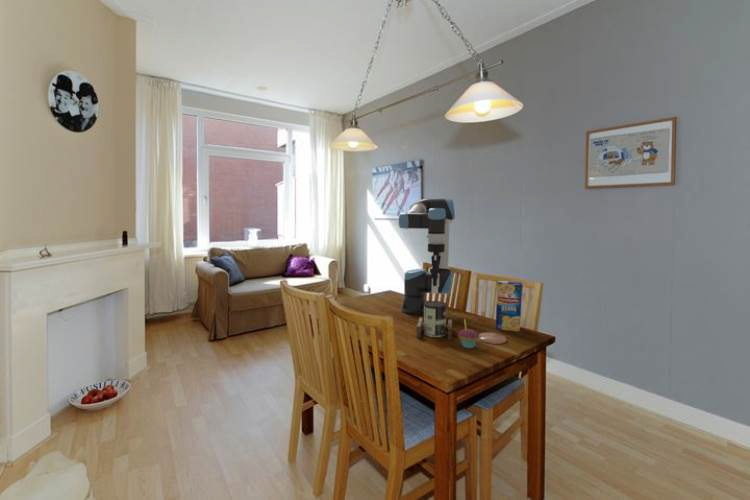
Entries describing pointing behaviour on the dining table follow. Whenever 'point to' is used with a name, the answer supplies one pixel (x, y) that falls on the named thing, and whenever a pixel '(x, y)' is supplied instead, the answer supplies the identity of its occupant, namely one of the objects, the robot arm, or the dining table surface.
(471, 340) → the cupcake
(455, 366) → the dining table surface
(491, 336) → the coaster
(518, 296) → the blue cardboard box
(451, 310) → the dining table surface
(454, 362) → the dining table surface
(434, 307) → the coffee can
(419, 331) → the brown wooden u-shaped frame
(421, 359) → the dining table surface
